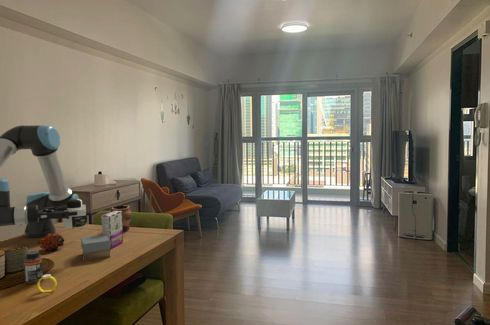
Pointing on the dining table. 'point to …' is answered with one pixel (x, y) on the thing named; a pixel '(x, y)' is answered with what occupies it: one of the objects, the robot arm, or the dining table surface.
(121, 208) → the decorative planter
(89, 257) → the clear shallow container
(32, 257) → the supplement bottle
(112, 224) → the candy bar box
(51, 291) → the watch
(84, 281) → the dining table surface
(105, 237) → the slate block
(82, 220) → the medicine bottle
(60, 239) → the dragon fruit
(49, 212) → the robot arm
